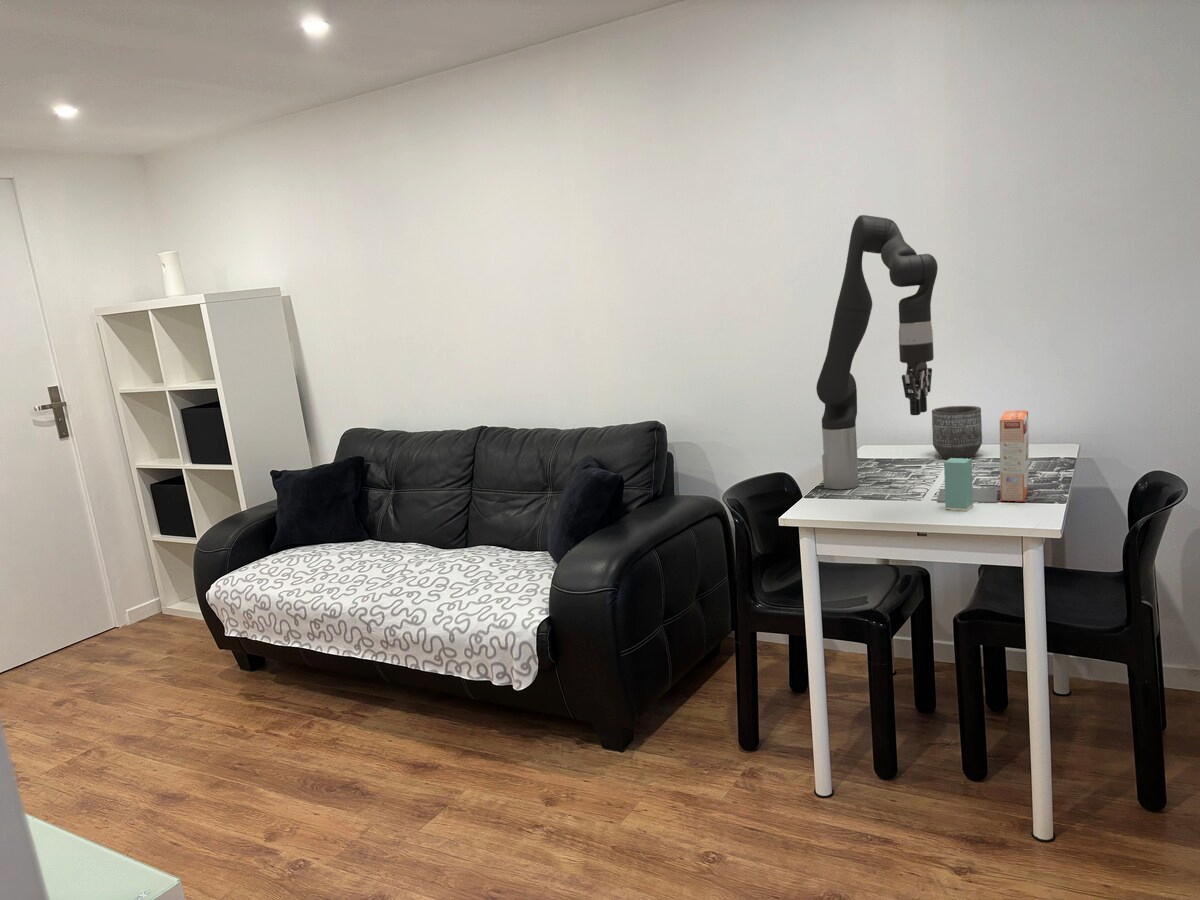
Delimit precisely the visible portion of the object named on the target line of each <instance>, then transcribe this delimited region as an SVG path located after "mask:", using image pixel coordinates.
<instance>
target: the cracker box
mask: <svg viewBox="0 0 1200 900" xmlns="http://www.w3.org/2000/svg"><path fill="white" fill-rule="evenodd" d="M999 472H1000V473H999V475H1000V476H999V484H1000V485H999V486H1000V498H999V499H1000V501H1001V502H1010V501H1015V503H1017V502H1018V503H1022V502H1023V503H1025V502H1026V497H1027V494H1028V491H1029V410H1005V411H1004V412H1003V413H1002V415H1001V417H1000V419H999Z"/></svg>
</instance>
